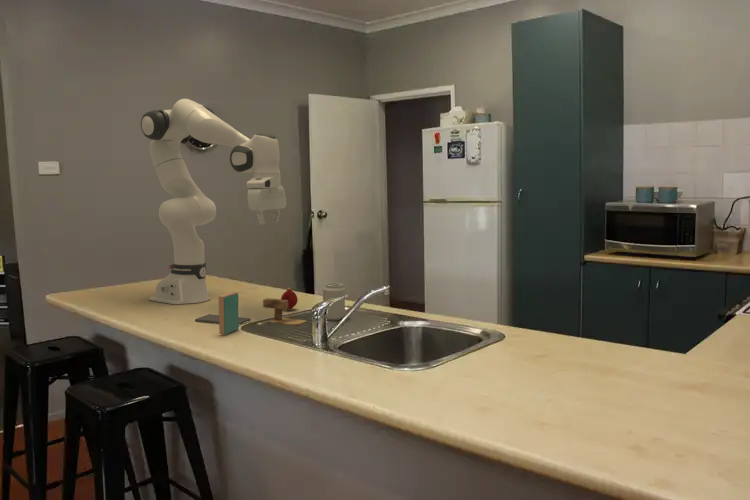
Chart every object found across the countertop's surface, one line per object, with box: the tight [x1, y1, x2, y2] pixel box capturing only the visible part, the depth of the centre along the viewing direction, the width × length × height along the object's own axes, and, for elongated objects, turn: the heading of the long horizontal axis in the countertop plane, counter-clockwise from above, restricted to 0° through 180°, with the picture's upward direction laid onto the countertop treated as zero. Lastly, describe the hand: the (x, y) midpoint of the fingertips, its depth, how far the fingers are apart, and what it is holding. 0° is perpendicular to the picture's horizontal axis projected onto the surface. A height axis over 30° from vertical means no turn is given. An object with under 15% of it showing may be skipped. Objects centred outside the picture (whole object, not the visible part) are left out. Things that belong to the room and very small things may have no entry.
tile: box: [218, 291, 240, 336], centre depth 198 cm, size 2×8×12 cm, turn 160°
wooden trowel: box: [262, 297, 308, 327], centre depth 213 cm, size 14×6×7 cm, turn 69°
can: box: [322, 282, 346, 322], centre depth 218 cm, size 8×8×12 cm
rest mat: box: [194, 313, 251, 325], centre depth 213 cm, size 16×8×1 cm, turn 70°
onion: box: [280, 287, 298, 310], centre depth 231 cm, size 6×6×8 cm
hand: (268, 223), depth 219 cm, fingers open, 8 cm apart
